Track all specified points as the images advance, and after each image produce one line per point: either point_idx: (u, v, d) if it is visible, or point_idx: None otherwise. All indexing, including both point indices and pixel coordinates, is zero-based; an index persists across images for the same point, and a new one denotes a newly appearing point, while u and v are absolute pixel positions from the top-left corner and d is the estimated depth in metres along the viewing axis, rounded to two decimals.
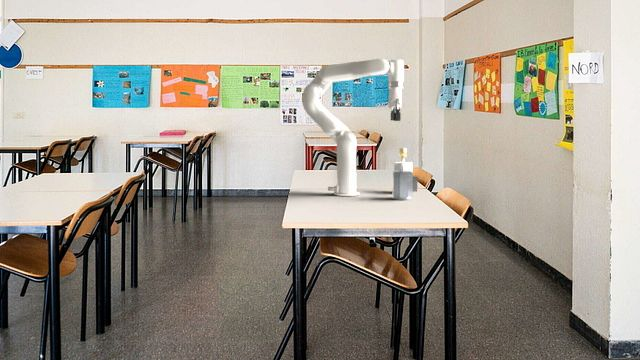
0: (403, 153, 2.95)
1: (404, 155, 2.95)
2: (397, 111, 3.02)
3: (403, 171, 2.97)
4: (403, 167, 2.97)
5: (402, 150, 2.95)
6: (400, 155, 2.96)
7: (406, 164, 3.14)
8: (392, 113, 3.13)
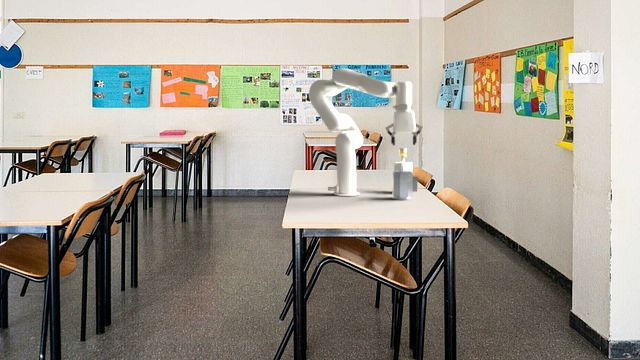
0: (403, 153, 2.95)
1: (404, 155, 2.95)
2: None
3: (403, 171, 2.97)
4: (403, 167, 2.97)
5: (402, 150, 2.95)
6: (400, 155, 2.96)
7: (406, 164, 3.14)
8: (394, 137, 2.95)
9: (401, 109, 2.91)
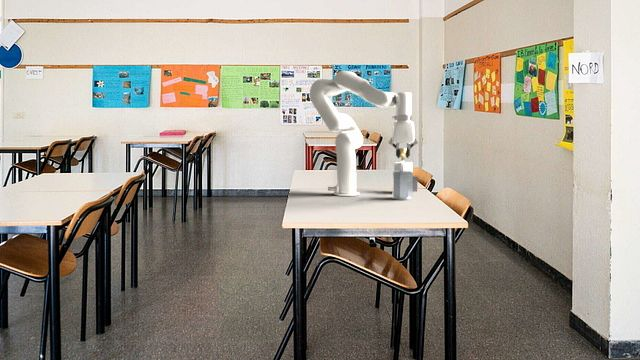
0: (403, 153, 2.95)
1: (404, 155, 2.95)
2: None
3: (403, 171, 2.97)
4: (403, 167, 2.97)
5: (402, 150, 2.95)
6: (400, 155, 2.96)
7: (406, 164, 3.14)
8: None
9: (401, 120, 2.92)
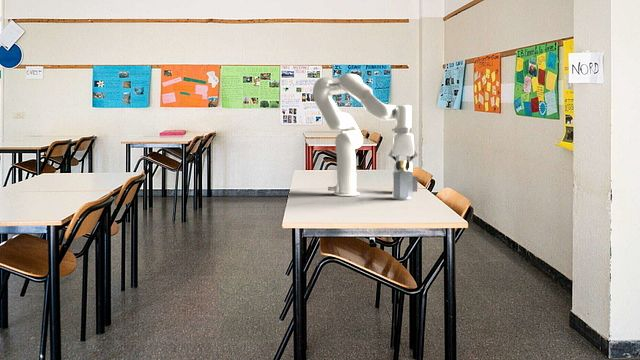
0: (403, 166, 2.96)
1: (404, 167, 2.96)
2: None
3: None
4: None
5: (402, 163, 2.96)
6: (400, 167, 2.97)
7: None
8: None
9: (400, 132, 2.92)
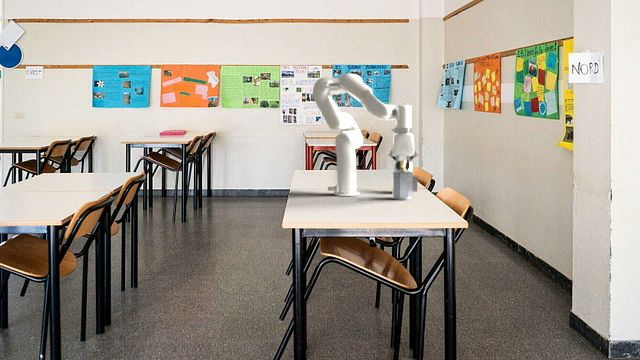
0: (403, 166, 2.96)
1: (404, 168, 2.96)
2: None
3: None
4: None
5: (402, 163, 2.96)
6: (400, 168, 2.97)
7: None
8: None
9: (400, 132, 2.92)
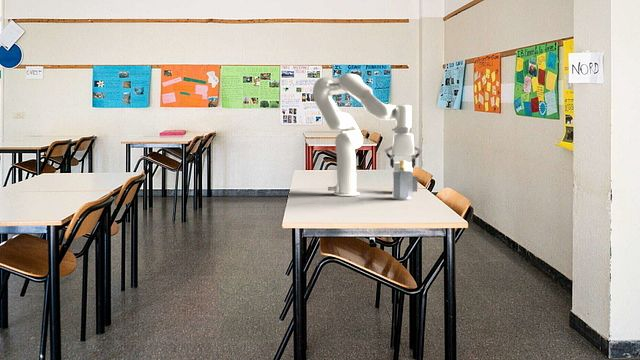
0: (403, 166, 2.96)
1: (404, 168, 2.96)
2: None
3: None
4: None
5: (402, 163, 2.96)
6: (400, 167, 2.97)
7: None
8: (393, 160, 2.97)
9: (400, 132, 2.92)
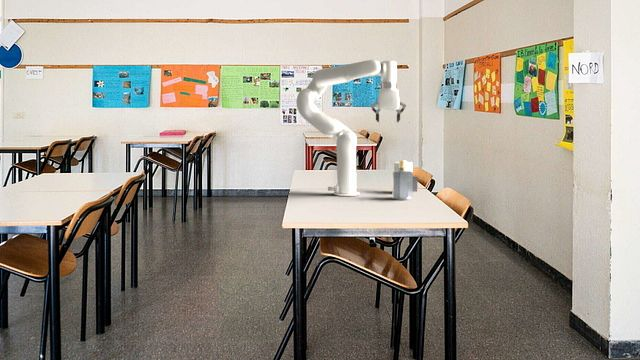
0: (403, 166, 2.96)
1: (404, 168, 2.96)
2: (401, 112, 3.06)
3: None
4: None
5: (402, 163, 2.96)
6: (400, 167, 2.97)
7: None
8: (378, 114, 3.06)
9: (386, 87, 3.02)
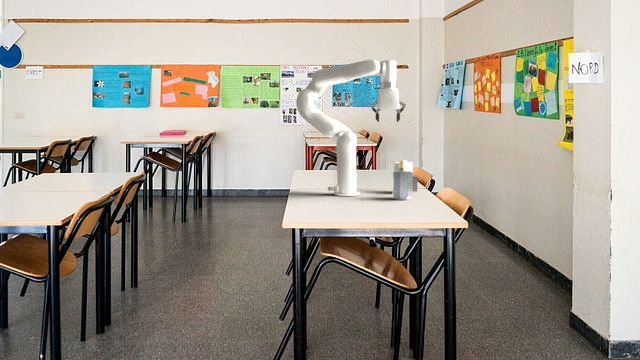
0: (403, 166, 2.96)
1: (404, 168, 2.96)
2: (400, 112, 3.07)
3: None
4: None
5: (402, 163, 2.96)
6: (400, 167, 2.97)
7: None
8: (378, 114, 3.06)
9: (385, 87, 3.02)
